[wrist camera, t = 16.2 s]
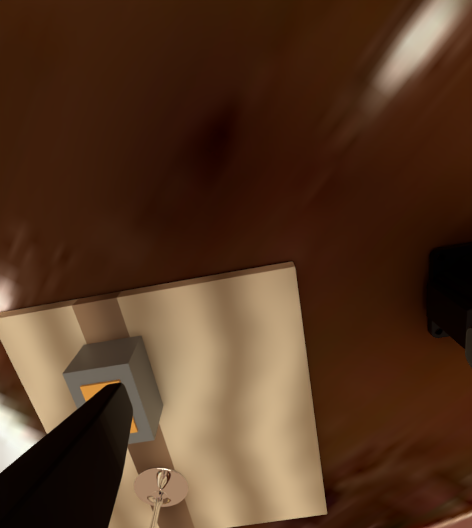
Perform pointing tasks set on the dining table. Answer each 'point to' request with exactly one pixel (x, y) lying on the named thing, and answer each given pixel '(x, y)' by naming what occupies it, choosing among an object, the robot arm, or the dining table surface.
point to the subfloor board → (196, 391)
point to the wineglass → (160, 489)
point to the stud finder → (118, 380)
